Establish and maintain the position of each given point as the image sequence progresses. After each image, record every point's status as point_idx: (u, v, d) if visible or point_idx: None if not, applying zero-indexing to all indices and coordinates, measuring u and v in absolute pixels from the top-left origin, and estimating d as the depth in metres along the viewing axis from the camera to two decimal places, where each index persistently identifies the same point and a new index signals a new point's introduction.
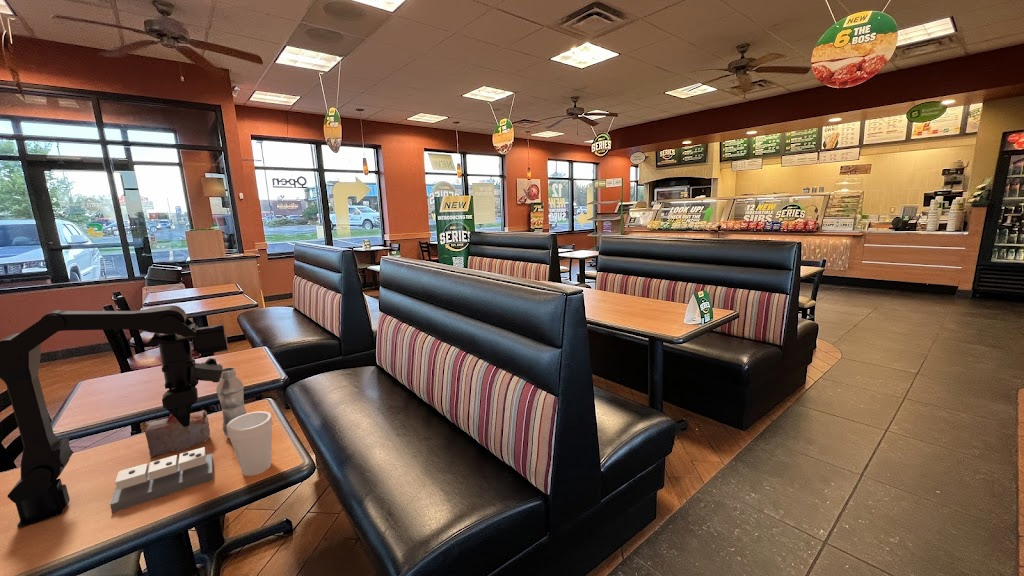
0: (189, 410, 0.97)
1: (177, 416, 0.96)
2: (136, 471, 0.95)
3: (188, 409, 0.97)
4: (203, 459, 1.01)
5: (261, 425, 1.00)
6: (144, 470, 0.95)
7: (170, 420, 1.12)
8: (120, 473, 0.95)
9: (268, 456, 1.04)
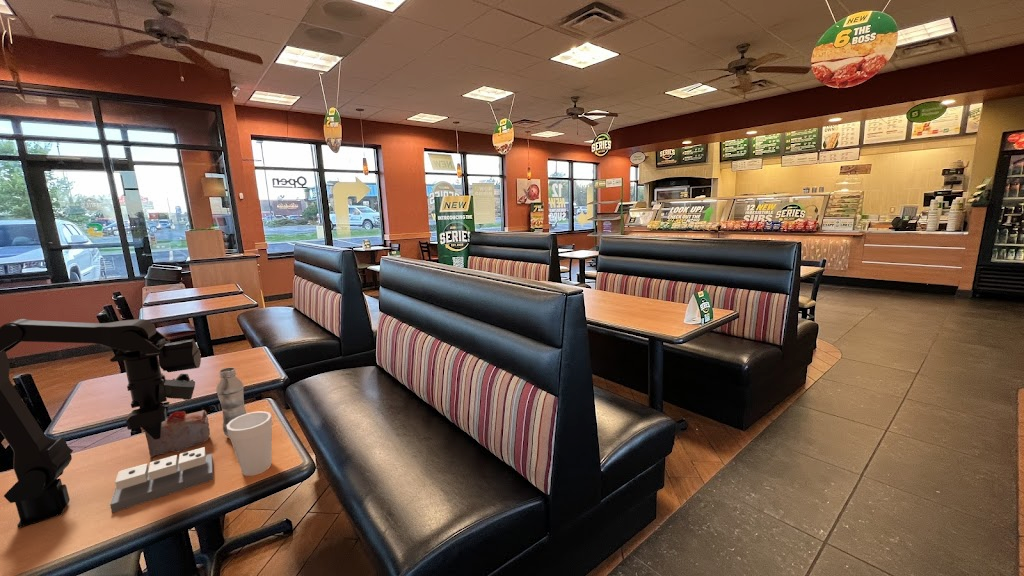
0: (159, 422, 0.95)
1: (147, 429, 0.94)
2: (136, 471, 0.95)
3: None
4: (203, 459, 1.01)
5: (261, 425, 1.00)
6: (144, 470, 0.95)
7: (170, 420, 1.12)
8: (120, 473, 0.95)
9: (268, 456, 1.04)
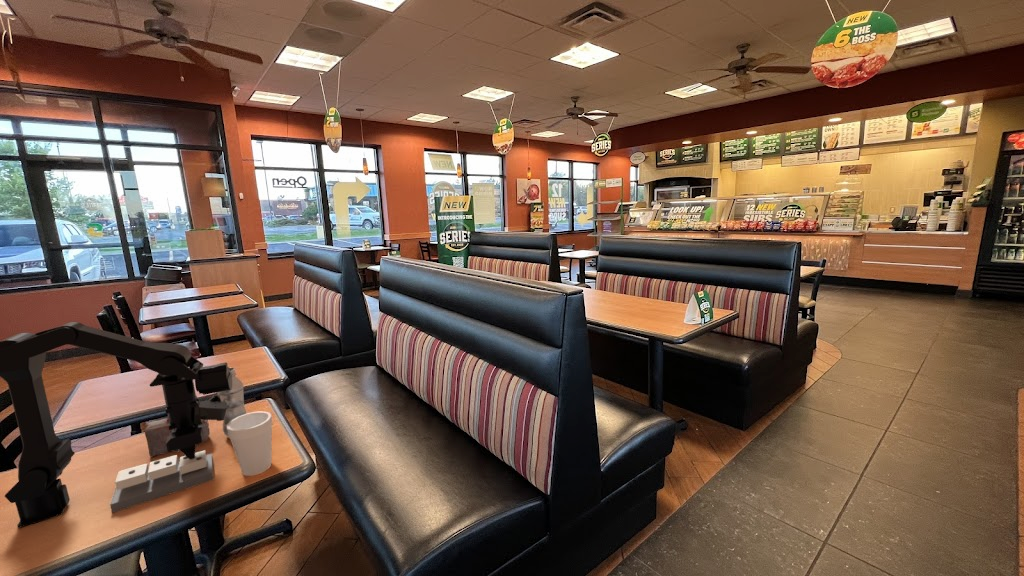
0: None
1: (182, 449, 0.99)
2: (136, 471, 0.95)
3: None
4: (204, 462, 1.01)
5: (261, 425, 1.00)
6: (144, 470, 0.95)
7: None
8: (120, 473, 0.95)
9: (268, 456, 1.04)
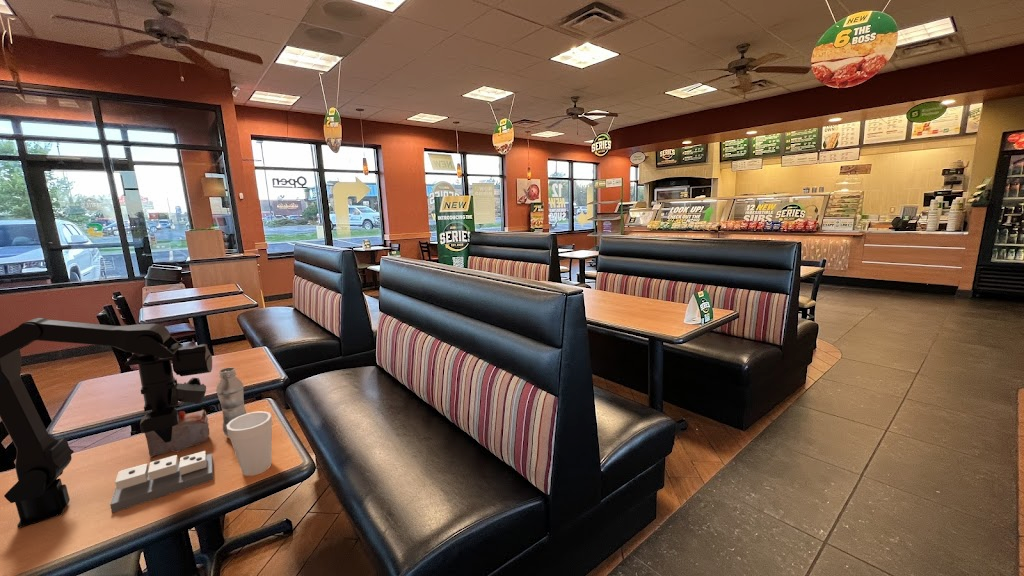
0: None
1: (158, 432, 0.96)
2: (136, 471, 0.95)
3: None
4: (204, 463, 1.01)
5: (261, 425, 1.00)
6: (144, 470, 0.95)
7: None
8: (120, 473, 0.95)
9: (268, 456, 1.04)
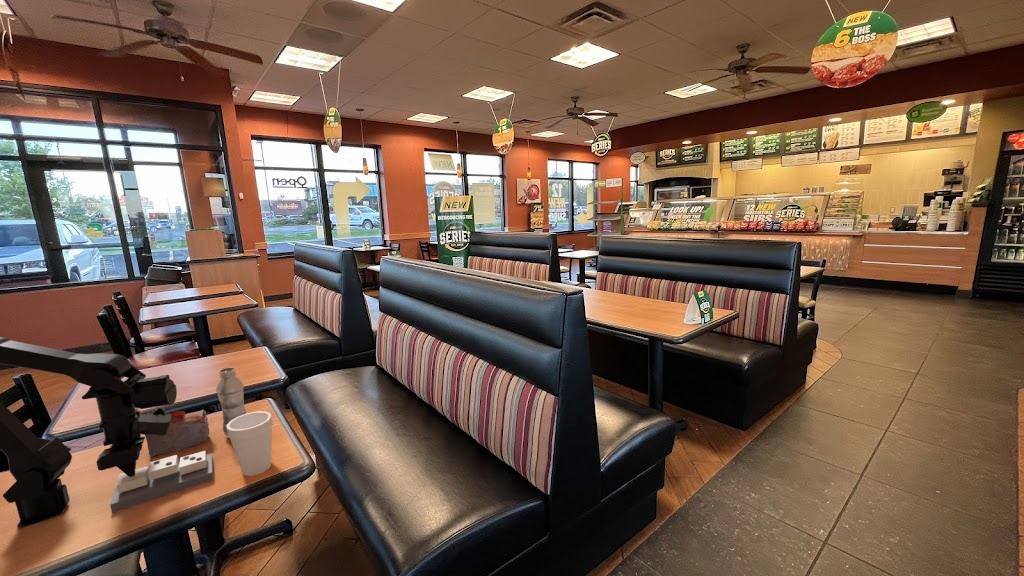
0: None
1: (120, 466, 0.93)
2: (136, 474, 0.95)
3: None
4: (204, 463, 1.01)
5: (261, 425, 1.00)
6: (145, 473, 0.96)
7: None
8: (121, 476, 0.95)
9: (268, 456, 1.04)
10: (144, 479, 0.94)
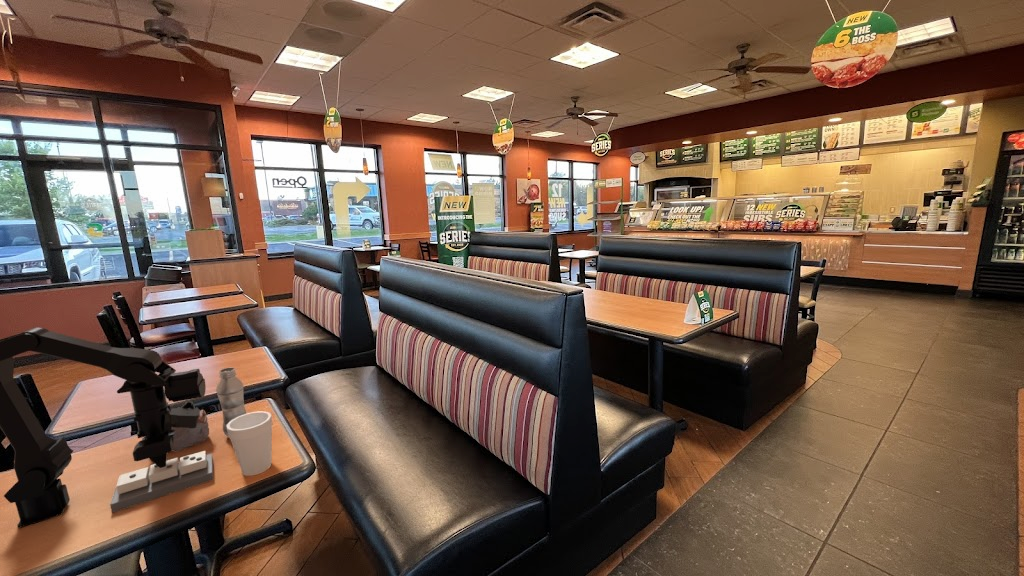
0: None
1: (152, 458, 0.96)
2: (137, 475, 0.95)
3: None
4: (204, 463, 1.01)
5: (261, 425, 1.00)
6: (145, 474, 0.96)
7: None
8: (121, 477, 0.95)
9: (268, 456, 1.04)
10: (144, 480, 0.94)
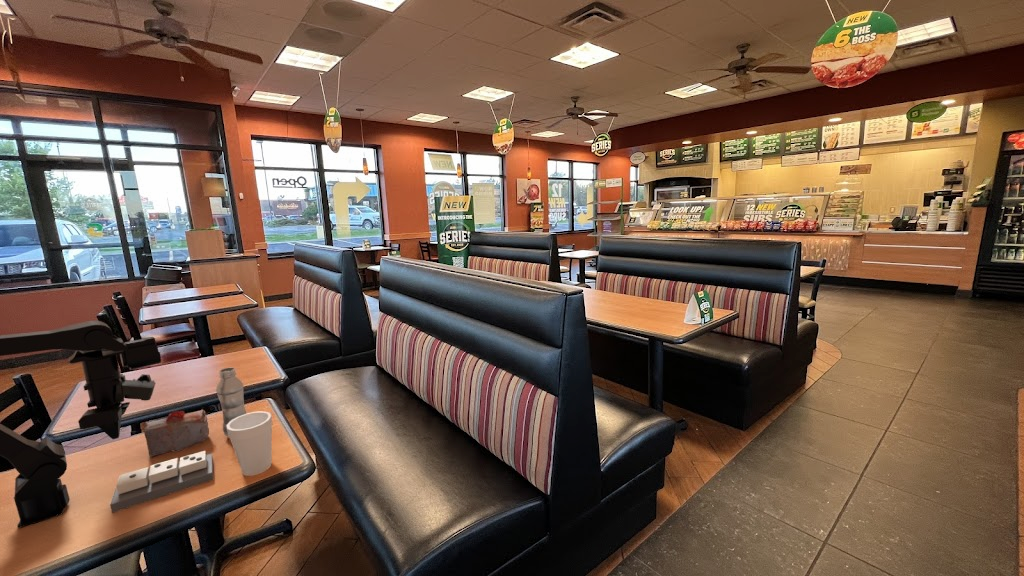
0: (117, 422, 0.96)
1: (104, 428, 0.95)
2: (137, 475, 0.95)
3: (115, 421, 0.96)
4: (204, 463, 1.01)
5: (261, 425, 1.00)
6: (145, 474, 0.96)
7: (169, 420, 1.12)
8: (121, 477, 0.95)
9: (268, 456, 1.04)
10: (144, 480, 0.94)
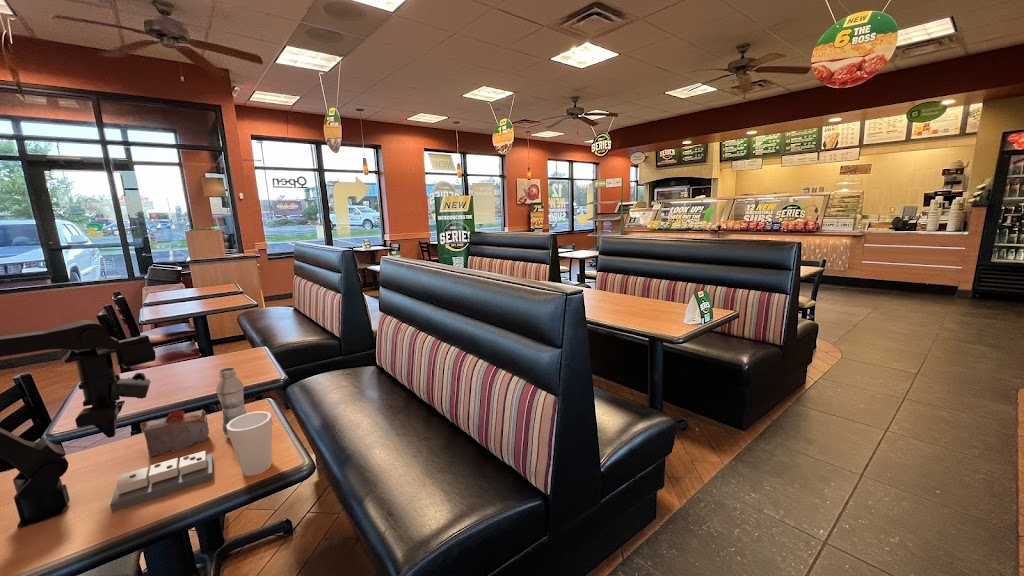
0: (113, 421, 0.96)
1: (100, 427, 0.96)
2: (137, 475, 0.95)
3: (111, 420, 0.96)
4: (204, 463, 1.01)
5: (261, 425, 1.00)
6: (145, 474, 0.96)
7: (169, 420, 1.12)
8: (121, 477, 0.95)
9: (268, 456, 1.04)
10: (144, 480, 0.94)
